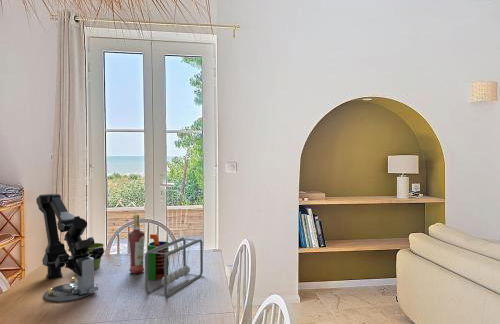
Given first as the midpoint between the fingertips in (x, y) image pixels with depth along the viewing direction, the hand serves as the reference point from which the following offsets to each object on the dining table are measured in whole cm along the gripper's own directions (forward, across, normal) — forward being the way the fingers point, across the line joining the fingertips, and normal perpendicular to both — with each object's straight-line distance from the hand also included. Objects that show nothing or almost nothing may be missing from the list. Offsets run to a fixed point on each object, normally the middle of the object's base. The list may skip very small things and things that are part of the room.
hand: (87, 274), depth 153 cm
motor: (+8, +32, +4) cm, 33 cm away
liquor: (-1, +29, +14) cm, 32 cm away
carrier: (+1, -4, +12) cm, 12 cm away
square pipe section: (+4, 0, +6) cm, 7 cm away
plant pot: (-18, +18, +30) cm, 40 cm away
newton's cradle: (+18, +32, -6) cm, 37 cm away
